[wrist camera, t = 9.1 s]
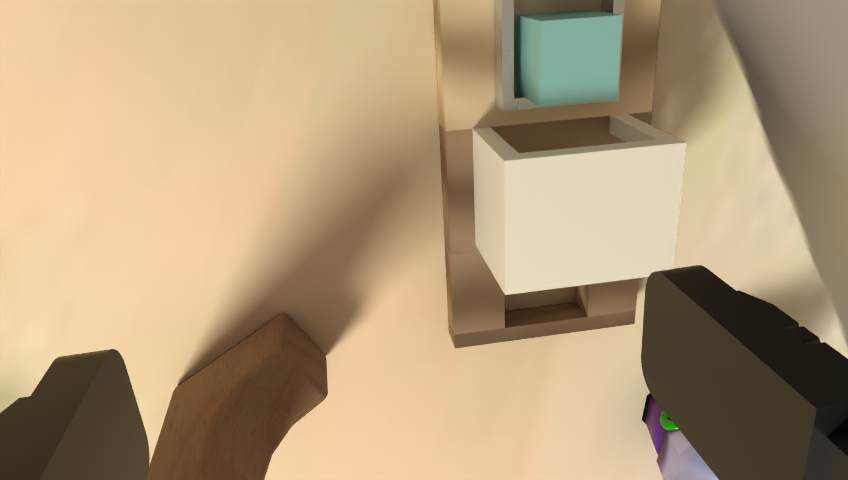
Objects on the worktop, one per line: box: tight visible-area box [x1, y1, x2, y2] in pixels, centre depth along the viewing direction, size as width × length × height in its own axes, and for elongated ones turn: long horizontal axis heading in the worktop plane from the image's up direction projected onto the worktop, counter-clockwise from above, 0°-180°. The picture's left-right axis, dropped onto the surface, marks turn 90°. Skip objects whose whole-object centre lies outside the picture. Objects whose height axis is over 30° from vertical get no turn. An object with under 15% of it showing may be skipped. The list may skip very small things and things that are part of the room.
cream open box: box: [472, 114, 687, 295], centre depth 35 cm, size 7×9×6 cm
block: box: [516, 10, 622, 107], centre depth 33 cm, size 4×4×4 cm
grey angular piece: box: [494, 0, 625, 111], centre depth 29 cm, size 11×8×12 cm
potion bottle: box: [642, 393, 719, 480], centre depth 44 cm, size 9×9×12 cm
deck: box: [433, 0, 661, 348], centre depth 39 cm, size 22×12×2 cm, turn 3°
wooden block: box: [147, 314, 328, 480], centre depth 34 cm, size 9×4×18 cm, turn 124°
